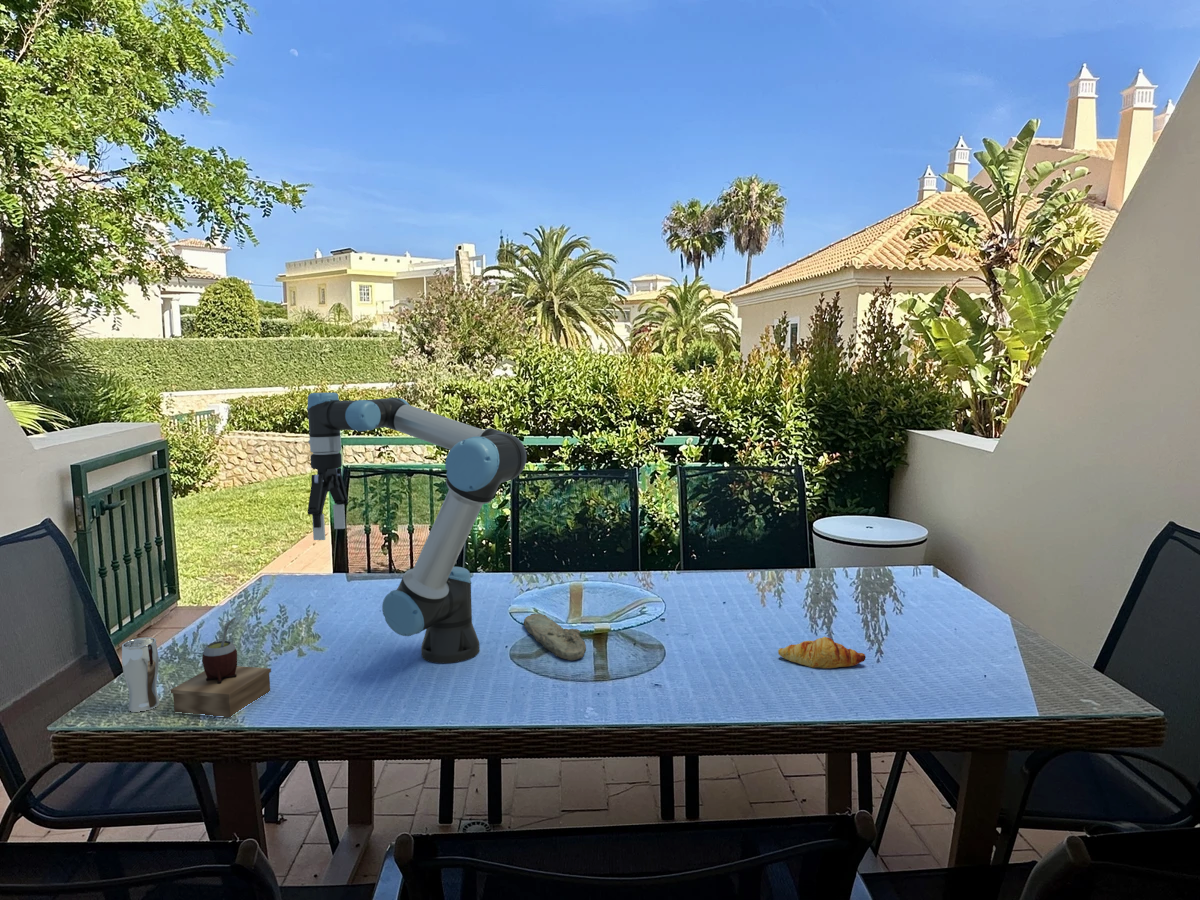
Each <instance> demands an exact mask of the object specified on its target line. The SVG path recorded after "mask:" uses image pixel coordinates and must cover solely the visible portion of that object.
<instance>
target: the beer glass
mask: <svg viewBox="0 0 1200 900" xmlns="http://www.w3.org/2000/svg"><path fill="white" fill-rule="evenodd" d="M159 660H160V659H159V651H158V645H157V639H156V638H155V637H138V638H134V639H131V640H127V641H126V642H124V643H122V645H121V665H122V672H123V676H124V679H125V682H126V686H127V689H128V693H129V697H128V698H129V700H128V708H127V710H128V712H130V711H131V712H130V713H134V712H138V713H141V712H140V711H145V712H147V711H146V710H149V711H151V710H150V709H152V710H154V709H156V708H158V707H159V705H160V703H161V702H160V698H159V695H158V689H157V683H158V675H159V673H158V672H159V664H160V663H159V662H160V661H159ZM155 707H156V708H155ZM153 708H154V709H153Z"/></svg>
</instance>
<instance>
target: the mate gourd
mask: <svg viewBox="0 0 1200 900" xmlns="http://www.w3.org/2000/svg"><path fill="white" fill-rule="evenodd" d="M235 619H236V617H233V618H232V619H231V620H229V621H227V623H226V625H224V627H223V636H222V640H219V641H214V642H210V643H209V644H207V645H206V646H205V647H204V649H203V651H202V658H201V660H202V665H203V670H204V671H205V673H206V675H207V678H206V681H211V680H218V681H217V684H221V683H222V681H223V679H227V678H235V677H236V676H237V674H235V672H236V668H237V666H238V650H237V649H236V648H237V647H236V646H235V644H234V643H233V642H232V641H229V640H226V638H227V633H228V630H229V628H230V627H229V626H230V625H231V624H232V622H233V621H234V620H235ZM204 671H203V672H204Z"/></svg>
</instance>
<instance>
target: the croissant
mask: <svg viewBox="0 0 1200 900" xmlns="http://www.w3.org/2000/svg"><path fill="white" fill-rule="evenodd" d="M777 653H778V655H779V656H780V657H781V658H783V659H784V660H786V661H789V662H792V663H795V664H799V665H802V666H806V667H809V668H814V669H815V668H819V669H835V668H847V667H853V666H857V665H859V664H861V663H862V662H865V661H866V658H867V657H866V654H865V653H863V652H857V650H854V649H852V648H847V647H845V645H843V644H842V643H838V642H835V641H834V640H833V638H831V637H827V636H822V637H820V638H816V639H815V640H804V641H802V642H800V643H797V644H789V645H787V646H786V647H782V648H781V647H780V648H779V649H778V650H777Z"/></svg>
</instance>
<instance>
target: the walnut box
mask: <svg viewBox="0 0 1200 900" xmlns="http://www.w3.org/2000/svg"><path fill="white" fill-rule="evenodd" d="M271 672H272V668H269V667H268V668H267V667H257V666H256V667H255V666H240V665H237V668H236V672H235V674H237V676H236V677H235V678H227V679H223V681H222V683H221V684H217V681H218V680H211V681H206V678H207V675H206V673H205V671H202V672H200V673H198V674H197V675H195V676H193V677H191V678H189V679H188V680H185V681H184V682H182V683H180V684H178V685H177V686H175V687H173V688H171V689H170V694H172V697H173V709H174V713H175V712H182V713H193V714H205V715H213V716H224V717H231V716H232V715H233V714H235V713H236V712H238V711H239V710H241V709H242V708H244V707H245V706H247V705H248V704H250V703H252V702H253V701H255V700H257V699H258V698H260V697H261V696H263V695H264V696H266V695H267V694H269V693H270V692H271V681H270V674H271ZM269 691H270V692H269ZM268 692H269V693H268ZM266 693H267V694H266ZM265 694H266V695H265ZM264 696H263V697H264ZM261 698H262V697H261ZM261 698H260V699H261ZM258 700H259V699H258ZM258 700H257V701H258ZM255 702H256V701H255ZM252 704H253V703H252ZM224 717H223V718H224ZM231 718H232V717H231Z"/></svg>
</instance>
